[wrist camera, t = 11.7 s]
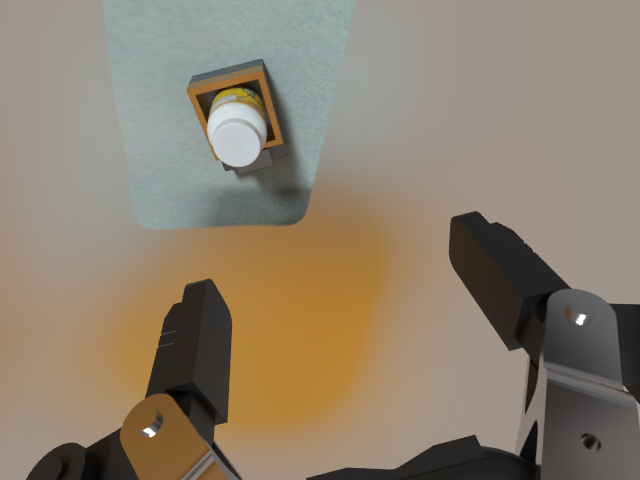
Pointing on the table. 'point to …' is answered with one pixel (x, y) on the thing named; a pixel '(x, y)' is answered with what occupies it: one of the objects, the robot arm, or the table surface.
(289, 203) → the table surface
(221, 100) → the supplement bottle
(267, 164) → the orange open box frame
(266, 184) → the table surface
